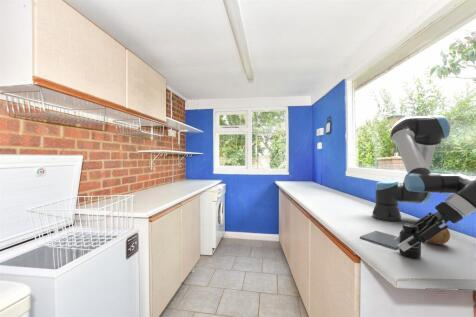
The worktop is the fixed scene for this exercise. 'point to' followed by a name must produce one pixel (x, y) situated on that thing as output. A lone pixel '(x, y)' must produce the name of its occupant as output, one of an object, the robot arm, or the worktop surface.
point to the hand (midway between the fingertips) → (399, 244)
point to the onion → (440, 237)
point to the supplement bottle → (405, 234)
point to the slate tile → (381, 239)
